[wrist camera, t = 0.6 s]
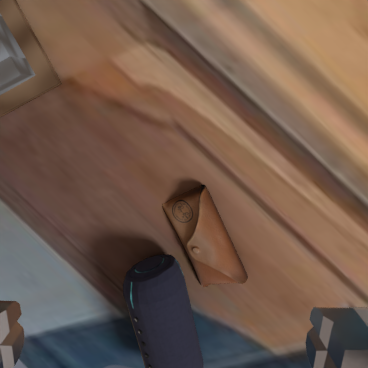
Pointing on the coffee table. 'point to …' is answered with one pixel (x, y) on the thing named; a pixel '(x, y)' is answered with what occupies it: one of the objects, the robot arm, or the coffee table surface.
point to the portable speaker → (162, 314)
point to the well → (21, 61)
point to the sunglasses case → (205, 238)
